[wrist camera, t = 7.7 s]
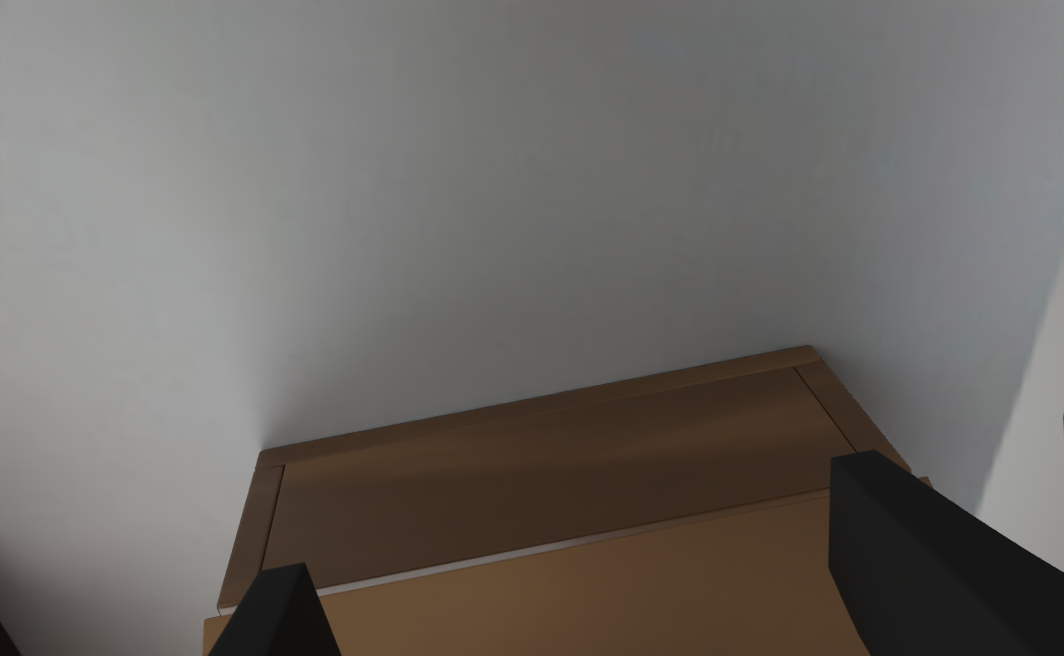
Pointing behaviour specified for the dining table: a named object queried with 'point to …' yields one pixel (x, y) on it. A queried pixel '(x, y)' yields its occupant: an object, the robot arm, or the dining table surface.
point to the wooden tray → (549, 473)
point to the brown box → (619, 597)
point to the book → (6, 645)
